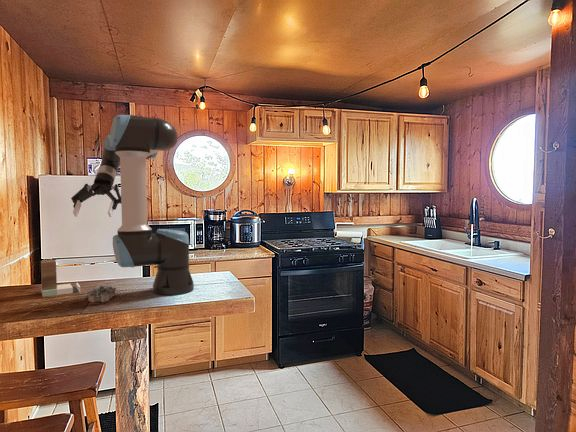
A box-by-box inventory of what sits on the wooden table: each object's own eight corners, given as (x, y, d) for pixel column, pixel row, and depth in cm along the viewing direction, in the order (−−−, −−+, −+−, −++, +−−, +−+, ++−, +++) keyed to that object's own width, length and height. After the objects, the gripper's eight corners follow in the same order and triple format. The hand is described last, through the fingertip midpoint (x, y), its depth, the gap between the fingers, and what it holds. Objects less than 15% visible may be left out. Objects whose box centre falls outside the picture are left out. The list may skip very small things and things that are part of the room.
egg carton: (107, 303, 135) (106, 291, 135) (84, 303, 135) (84, 291, 134) (118, 294, 146) (118, 283, 145) (97, 294, 145) (97, 283, 145)
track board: (80, 292, 147) (80, 286, 147) (42, 296, 140) (42, 291, 140) (77, 287, 153) (77, 282, 152) (41, 292, 146) (41, 287, 145)
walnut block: (56, 288, 143) (56, 261, 143) (42, 290, 141) (41, 262, 140) (55, 286, 147) (54, 259, 146) (41, 287, 145) (40, 260, 144)
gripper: (136, 184, 179) (126, 220, 165) (78, 183, 176) (63, 220, 163) (132, 172, 173) (121, 208, 159) (72, 171, 171) (56, 208, 157)
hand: (92, 214), depth 161 cm, fingers open, 13 cm apart
